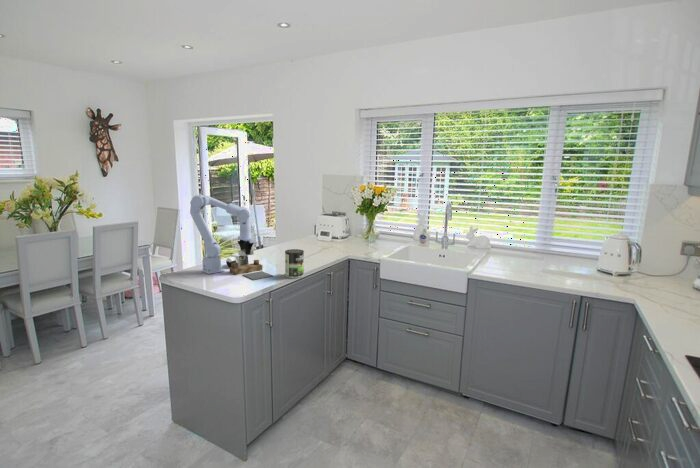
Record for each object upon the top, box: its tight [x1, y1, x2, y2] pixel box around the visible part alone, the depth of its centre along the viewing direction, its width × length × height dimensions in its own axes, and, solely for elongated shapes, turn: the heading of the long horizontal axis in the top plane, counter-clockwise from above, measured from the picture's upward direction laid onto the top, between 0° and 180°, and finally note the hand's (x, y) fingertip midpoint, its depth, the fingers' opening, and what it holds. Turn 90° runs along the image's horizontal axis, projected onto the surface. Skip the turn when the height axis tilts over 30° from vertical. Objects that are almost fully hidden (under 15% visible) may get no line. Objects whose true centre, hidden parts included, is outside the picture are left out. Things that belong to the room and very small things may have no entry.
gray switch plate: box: [242, 270, 274, 281], centre depth 205 cm, size 12×12×1 cm
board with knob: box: [228, 259, 263, 276], centre depth 213 cm, size 17×7×6 cm, turn 134°
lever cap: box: [237, 249, 255, 256], centre depth 212 cm, size 7×4×3 cm, turn 134°
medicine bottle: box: [225, 252, 250, 268], centre depth 224 cm, size 7×7×12 cm
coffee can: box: [284, 248, 305, 279], centre depth 206 cm, size 10×10×14 cm
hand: (245, 253), depth 212 cm, fingers closed on lever cap, 4 cm apart
